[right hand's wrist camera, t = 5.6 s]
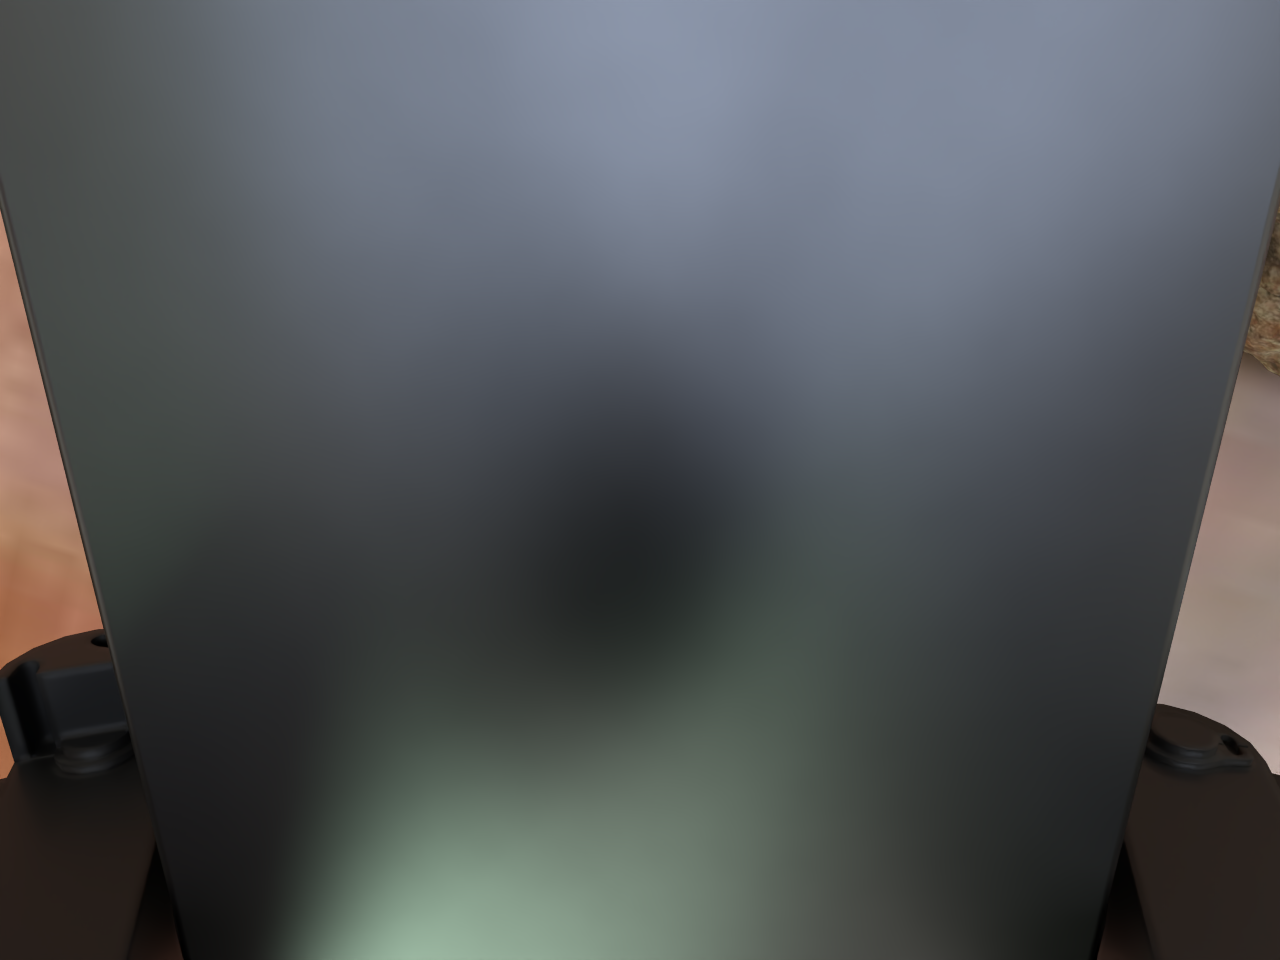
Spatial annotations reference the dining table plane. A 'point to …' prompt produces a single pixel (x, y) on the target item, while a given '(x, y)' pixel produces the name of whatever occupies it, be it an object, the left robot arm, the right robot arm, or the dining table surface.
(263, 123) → the box
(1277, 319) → the rock
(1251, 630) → the dining table surface
